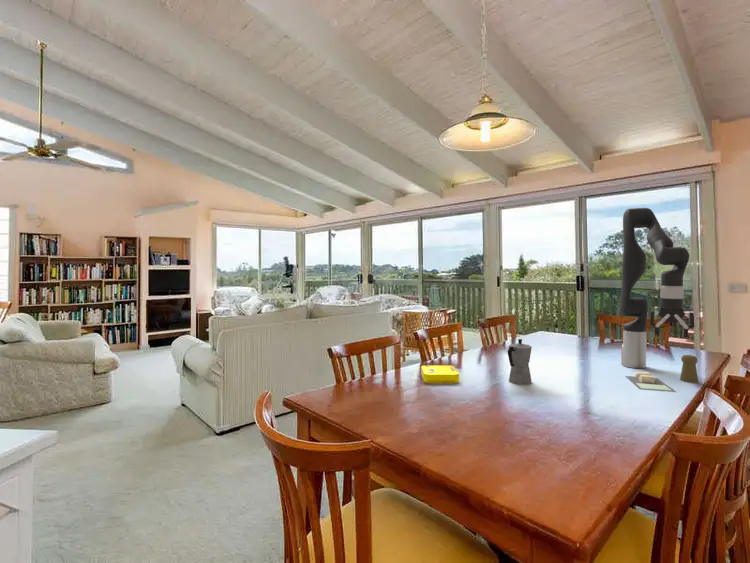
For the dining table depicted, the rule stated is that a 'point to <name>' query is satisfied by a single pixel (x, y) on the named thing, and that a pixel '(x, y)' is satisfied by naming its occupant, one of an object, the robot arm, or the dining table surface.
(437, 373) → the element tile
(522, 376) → the coffeepot
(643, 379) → the maple tile
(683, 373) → the cork
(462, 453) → the dining table surface
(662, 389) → the grey board
